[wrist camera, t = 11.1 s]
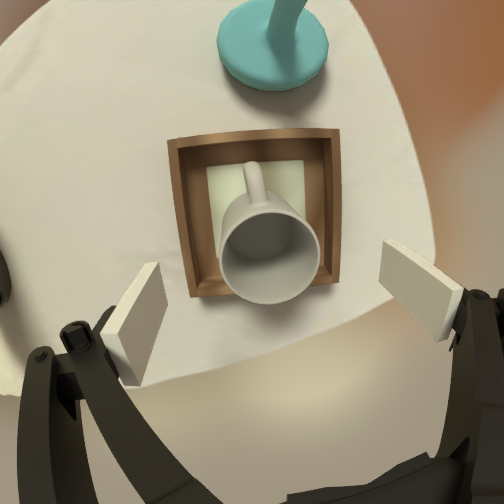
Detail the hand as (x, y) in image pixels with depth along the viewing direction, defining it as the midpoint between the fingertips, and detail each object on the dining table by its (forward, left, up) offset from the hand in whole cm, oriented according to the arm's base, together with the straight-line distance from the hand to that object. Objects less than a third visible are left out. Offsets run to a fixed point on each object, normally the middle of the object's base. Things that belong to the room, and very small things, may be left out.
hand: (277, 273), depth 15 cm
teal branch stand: (+4, +20, -19) cm, 28 cm away
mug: (0, 0, -18) cm, 18 cm away
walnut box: (+1, 0, -19) cm, 19 cm away
